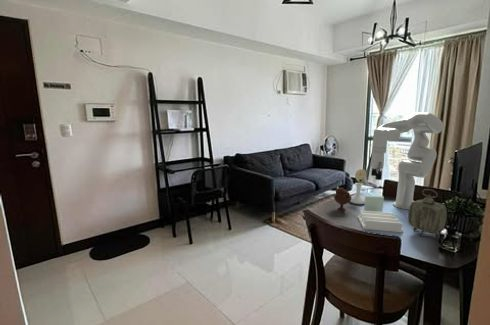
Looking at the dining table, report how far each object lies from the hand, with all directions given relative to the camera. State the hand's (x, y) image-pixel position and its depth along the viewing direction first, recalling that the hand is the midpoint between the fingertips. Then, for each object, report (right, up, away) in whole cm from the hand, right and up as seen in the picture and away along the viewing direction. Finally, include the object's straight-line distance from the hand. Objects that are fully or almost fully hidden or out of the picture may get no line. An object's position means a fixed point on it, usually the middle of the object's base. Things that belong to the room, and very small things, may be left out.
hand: (376, 177), depth 159 cm
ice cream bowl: (-17, -22, +13) cm, 30 cm away
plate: (0, -23, +5) cm, 24 cm away
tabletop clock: (+13, -29, -22) cm, 39 cm away
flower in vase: (0, -20, +25) cm, 32 cm away
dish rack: (-3, -26, -10) cm, 28 cm away
